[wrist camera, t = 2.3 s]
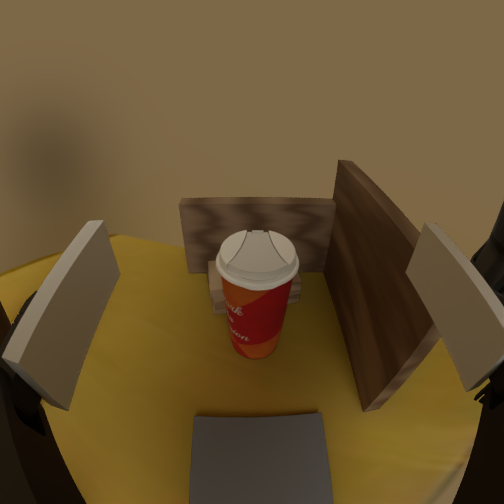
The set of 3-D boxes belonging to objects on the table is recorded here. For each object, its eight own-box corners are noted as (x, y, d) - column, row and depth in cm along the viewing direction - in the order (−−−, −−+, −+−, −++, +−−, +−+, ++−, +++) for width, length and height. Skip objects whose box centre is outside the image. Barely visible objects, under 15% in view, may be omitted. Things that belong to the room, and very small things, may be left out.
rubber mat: (319, 414, 25) (321, 412, 24) (333, 523, 14) (335, 524, 14) (195, 418, 25) (194, 415, 24) (190, 529, 14) (188, 530, 14)
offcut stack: (286, 274, 44) (289, 251, 41) (300, 304, 39) (305, 281, 36) (208, 284, 42) (205, 260, 39) (212, 318, 36) (209, 294, 34)
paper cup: (226, 316, 36) (219, 225, 28) (283, 317, 36) (295, 227, 28) (221, 366, 30) (209, 277, 22) (287, 367, 30) (306, 278, 22)
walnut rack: (331, 263, 46) (351, 160, 35) (379, 408, 25) (467, 296, 14) (190, 265, 45) (177, 158, 34) (162, 419, 24) (89, 306, 13)
